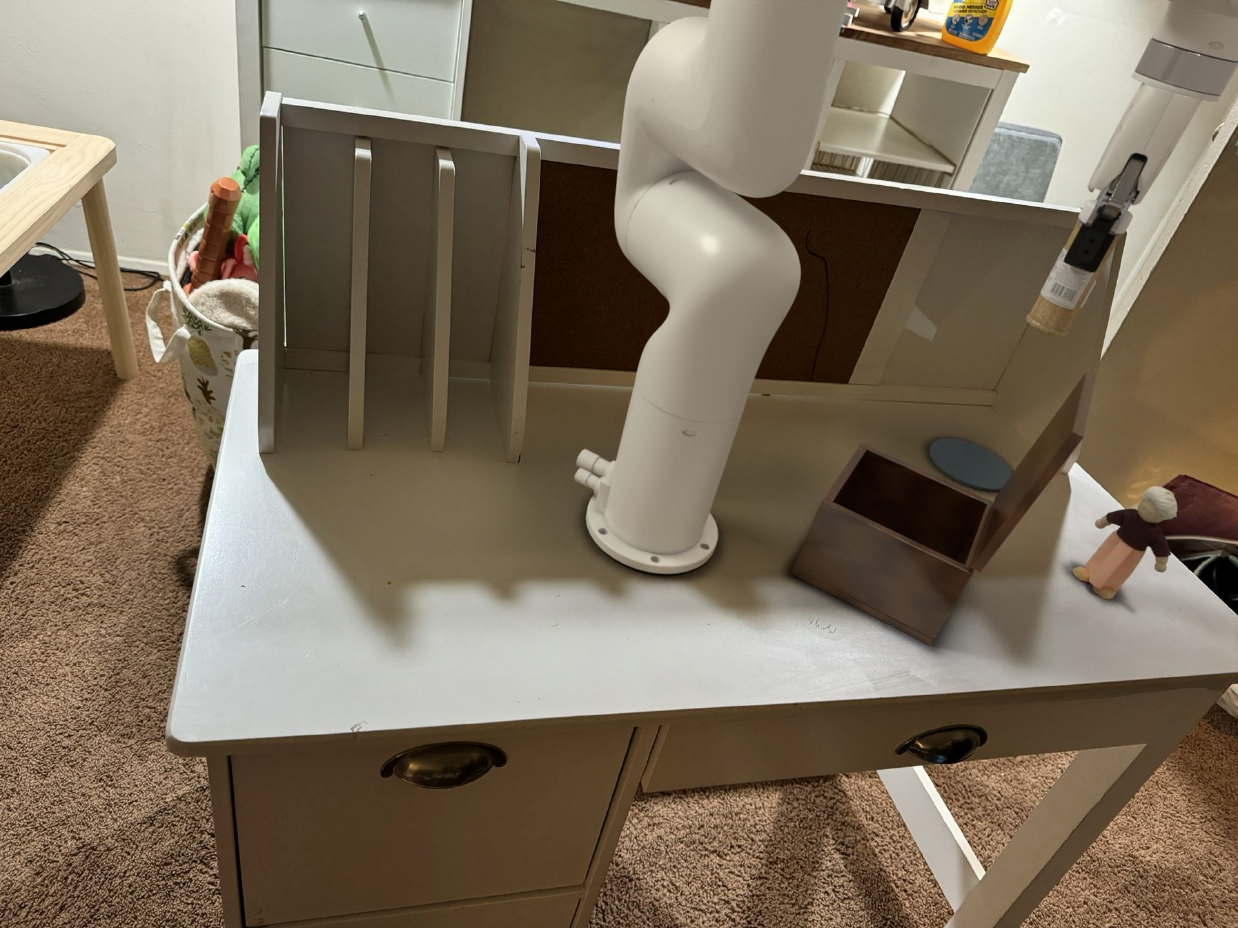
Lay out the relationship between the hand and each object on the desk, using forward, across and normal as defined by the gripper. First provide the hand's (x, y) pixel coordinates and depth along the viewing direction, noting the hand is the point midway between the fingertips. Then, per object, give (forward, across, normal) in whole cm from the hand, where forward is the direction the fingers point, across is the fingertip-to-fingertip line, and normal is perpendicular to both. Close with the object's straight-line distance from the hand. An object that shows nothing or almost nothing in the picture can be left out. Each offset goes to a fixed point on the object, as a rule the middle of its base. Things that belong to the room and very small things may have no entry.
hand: (1081, 258), depth 88 cm
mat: (+27, 0, 0) cm, 27 cm away
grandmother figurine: (+27, +13, +16) cm, 34 cm away
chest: (+27, +28, -4) cm, 39 cm away
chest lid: (+10, +28, +3) cm, 30 cm away
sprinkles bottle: (+8, 0, 0) cm, 8 cm away
